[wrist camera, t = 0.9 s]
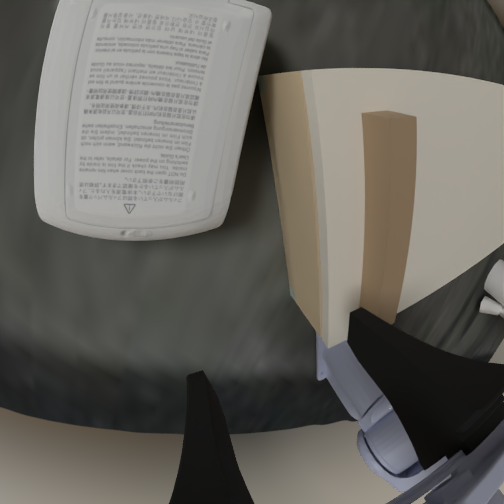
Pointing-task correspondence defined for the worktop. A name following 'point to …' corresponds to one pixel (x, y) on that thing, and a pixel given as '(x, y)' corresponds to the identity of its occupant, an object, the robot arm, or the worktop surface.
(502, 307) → the white wood-trimmed shelf
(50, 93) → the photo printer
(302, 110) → the box
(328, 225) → the sliding box lid
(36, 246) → the worktop surface
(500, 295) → the fire extinguisher
